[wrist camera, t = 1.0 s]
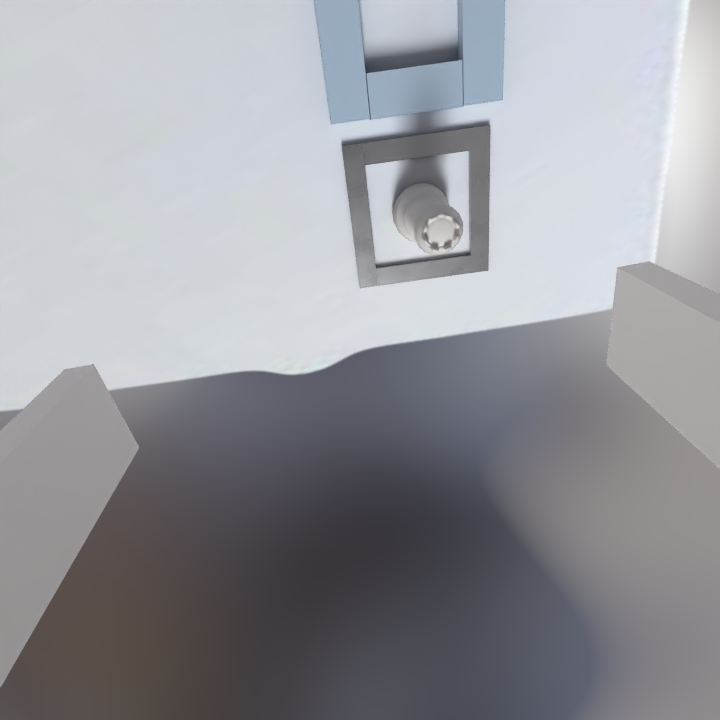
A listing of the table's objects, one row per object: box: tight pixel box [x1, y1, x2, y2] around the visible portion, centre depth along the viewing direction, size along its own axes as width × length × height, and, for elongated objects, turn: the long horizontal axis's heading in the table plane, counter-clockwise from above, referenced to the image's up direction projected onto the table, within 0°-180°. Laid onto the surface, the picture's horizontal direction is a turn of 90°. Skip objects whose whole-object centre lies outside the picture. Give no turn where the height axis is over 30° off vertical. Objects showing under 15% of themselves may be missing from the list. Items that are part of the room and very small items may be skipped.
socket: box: [314, 0, 505, 124], centre depth 29 cm, size 12×12×1 cm
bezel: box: [342, 125, 490, 288], centre depth 35 cm, size 11×11×1 cm
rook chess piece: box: [393, 183, 463, 255], centre depth 32 cm, size 4×4×8 cm
